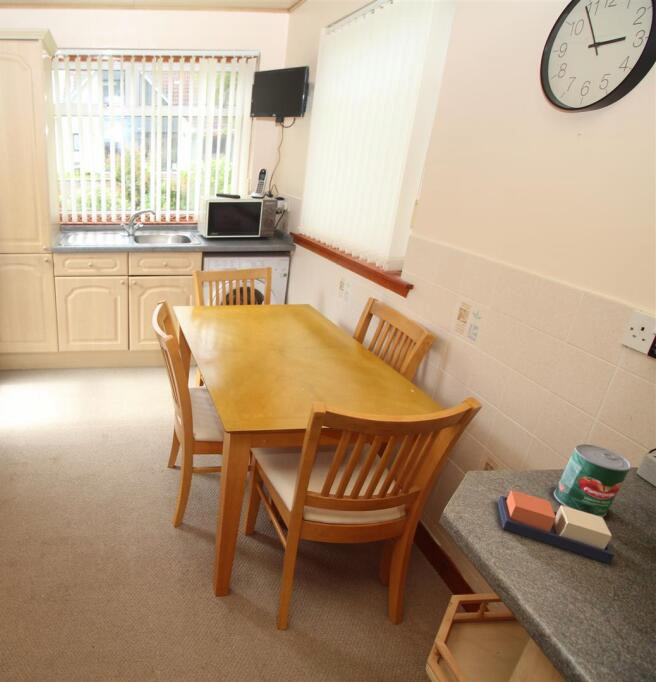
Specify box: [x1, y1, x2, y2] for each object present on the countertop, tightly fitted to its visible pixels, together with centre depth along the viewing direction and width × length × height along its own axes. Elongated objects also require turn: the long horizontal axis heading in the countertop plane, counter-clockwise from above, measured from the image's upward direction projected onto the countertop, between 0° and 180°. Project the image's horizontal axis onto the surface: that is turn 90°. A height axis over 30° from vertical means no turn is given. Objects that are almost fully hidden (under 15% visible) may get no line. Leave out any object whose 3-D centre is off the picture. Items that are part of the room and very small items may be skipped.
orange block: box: [506, 489, 556, 532], centre depth 85 cm, size 6×5×4 cm
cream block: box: [553, 504, 613, 549], centre depth 82 cm, size 6×5×4 cm
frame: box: [497, 495, 615, 565], centre depth 84 cm, size 15×8×2 cm, turn 61°
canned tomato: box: [553, 443, 632, 518], centre depth 90 cm, size 8×8×11 cm
